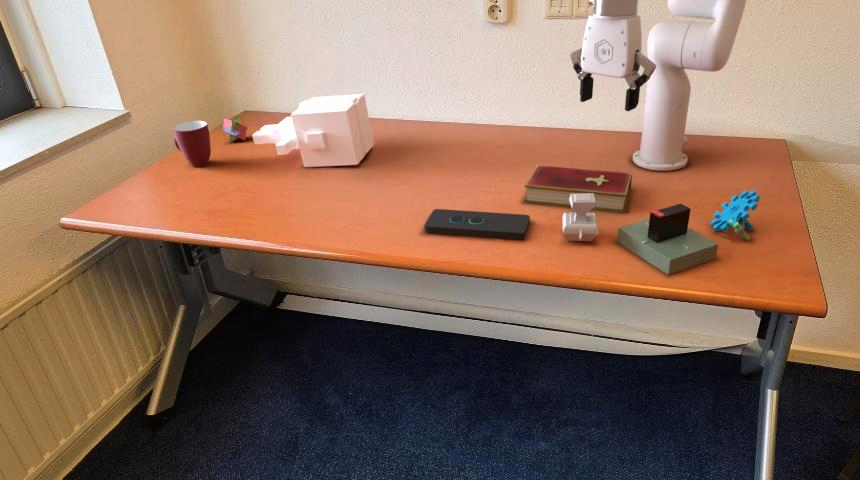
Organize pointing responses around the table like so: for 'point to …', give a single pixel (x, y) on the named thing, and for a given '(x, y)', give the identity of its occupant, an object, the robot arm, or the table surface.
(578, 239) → the white square urn
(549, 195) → the hardcover book
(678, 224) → the black rectangular block
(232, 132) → the geometric puzzle
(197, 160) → the mug
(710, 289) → the table surface
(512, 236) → the smart home device
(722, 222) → the blue splat shape
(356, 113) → the white voxel figure
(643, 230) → the green base plate
